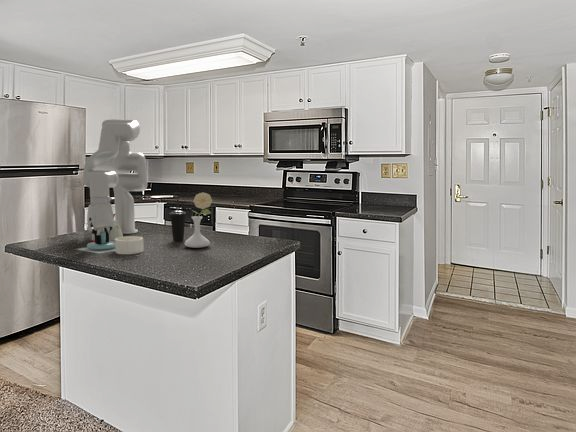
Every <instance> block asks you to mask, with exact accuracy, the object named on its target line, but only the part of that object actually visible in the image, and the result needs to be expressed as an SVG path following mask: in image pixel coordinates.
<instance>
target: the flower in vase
mask: <svg viewBox="0 0 576 432" xmlns="http://www.w3.org/2000/svg"><path fill="white" fill-rule="evenodd" d="M212 202H213V199H212V197H211V195H210V193H207V192H202V191H201V192H199V193H198V194H195V196H194V199H193V203H194V205H195V206H194V207H196V208H198V209H201V211H200V212H199V213H198V212H197V211H195V210H192V208H190V209H191V211H192V212H193V213H195V214H198V216H197V215H196V216H191V219H192V220H193V225H194V232H193V234H192V235H191V236H190V237H189V238H187V239H186V240H185V242H184V245H185V247H188V248H192V249H200V248H205V247H208V246H210V244H211V242H210V240H209V239H208V238H206V237H205V235H203V234H202V233H201V230H200V229H201V228H200V226H201V220H202V219H203V216H202V215H201V214H202V213H203V215H210V214H212V212H211V211H210V209H207V208H209V207H211V204H212ZM200 215H201V216H200Z"/></svg>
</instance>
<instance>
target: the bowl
mask: <svg viewBox="0 0 576 432" xmlns="http://www.w3.org/2000/svg"><path fill="white" fill-rule="evenodd" d="M144 244H145V243H144V237H143V236H137V235H133V236H132V235H130V236H127V235H126V236H123V237H119V238H116V239H115V251H114V252H115V253H116V254H118V255H134V254H135V255H136V256H137V255H138V254H141V253H142V252H144V248H145V247H144Z"/></svg>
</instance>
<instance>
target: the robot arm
mask: <svg viewBox="0 0 576 432" xmlns="http://www.w3.org/2000/svg"><path fill="white" fill-rule="evenodd" d="M140 129H141V127H140V123H139V122H138V121H137V120H136V119H135V120H134V119H117V118H116V119H113V118H111V119H104V120H103V121H102V123H101V130H100V137H99V144H98V149H97V150H96V151H95V152H93V153H92V154H91V155H90V156H89V157H88V159H87V160H86V161H85V163H84V167H83V174H82V183H83V185H84V186H85V187H87V188H89V197H90V204H89V205H88V208H87V215H86V216H87V218H86V219H87V223H86V224H87V226H86V231H89V232H91V233H92V234H94V235H95V243H96V244H101V235H99V234H100V228H102V227H103V229H104V232H106V243H109V233H110V231H111V230H112V228H113V227H115V226H116V225H115V223H114V220H115V221H116V222H117V223H118V225H119V226H120V228H121V231H122V234H123V235H130V234H136V233H138V232H139V230H138V229H137V228H135V227H136V223H135V222H136V221H135V218H136V217H135V200H134V197H133V195H132V194H131V193H130V192H144V191H146V190H147V188H148V170H147V160H146V156H145V155H144V154H143V153H141V152H132V151H131V148H130V145H131V144H130V142H134V141H135V140H136V139H137V138H138V137H139V134H140V133H141V132H140V131H141V130H140ZM111 160H112V163H113V167H114V169H115V170H117V171H119V172H116V171H114V170H97V169H96V170H95V168H96V167H98V165H100V164H103V163H105V162H108V161H111ZM120 171H123V172H120ZM110 188H112V189H113V196H114V209H113V206H112V203H111V201H112V197H110ZM113 210H114V211H113ZM113 214H115V216H114V217H113ZM114 218H115V219H114Z"/></svg>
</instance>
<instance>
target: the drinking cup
mask: <svg viewBox="0 0 576 432" xmlns="http://www.w3.org/2000/svg"><path fill="white" fill-rule="evenodd" d="M179 207H180V206H179V199H176V210H172V211H171V212H169V215H170V221H171V222H170V223H171V232H172V233H171V234H172V241H173V242H183V241H184V237H185V226H186V214H187V212H185V211H183V210H180V209H179Z"/></svg>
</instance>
